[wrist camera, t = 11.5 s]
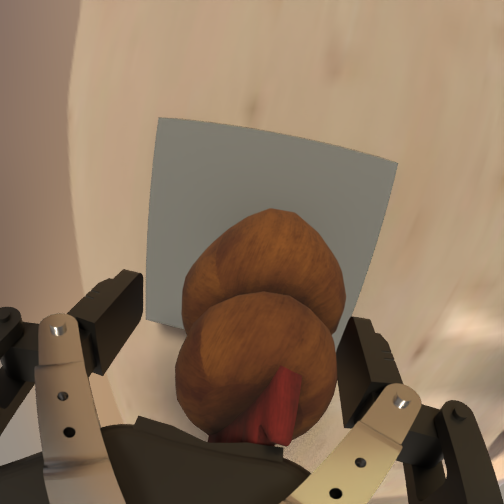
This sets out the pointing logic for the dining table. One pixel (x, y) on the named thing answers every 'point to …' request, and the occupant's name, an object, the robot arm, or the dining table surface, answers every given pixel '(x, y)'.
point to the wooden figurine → (260, 331)
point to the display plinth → (256, 201)
